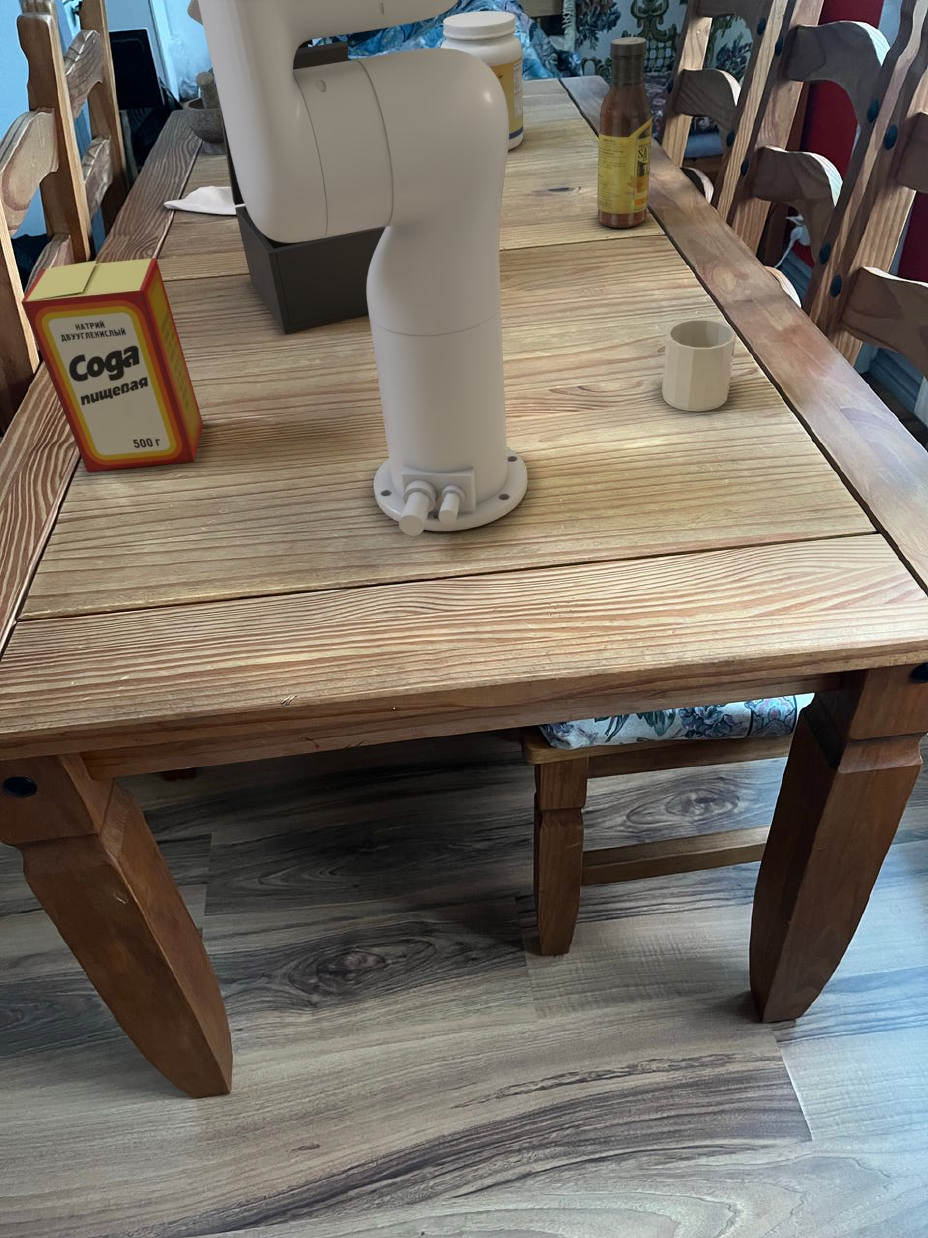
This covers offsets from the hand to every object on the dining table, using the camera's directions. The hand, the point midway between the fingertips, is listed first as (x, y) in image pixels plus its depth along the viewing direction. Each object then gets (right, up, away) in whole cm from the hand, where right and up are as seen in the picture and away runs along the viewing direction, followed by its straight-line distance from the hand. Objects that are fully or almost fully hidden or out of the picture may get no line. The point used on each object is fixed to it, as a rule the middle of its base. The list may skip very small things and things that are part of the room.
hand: (275, 82), depth 101 cm
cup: (+41, -36, -13) cm, 56 cm away
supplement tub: (+23, +17, +48) cm, 56 cm away
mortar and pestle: (-19, +20, +55) cm, 62 cm away
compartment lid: (+1, -4, +1) cm, 5 cm away
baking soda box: (-9, -41, -13) cm, 44 cm away
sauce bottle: (+40, -6, +20) cm, 45 cm away
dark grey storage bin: (+4, -19, +9) cm, 22 cm away
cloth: (-10, +3, +36) cm, 37 cm away
